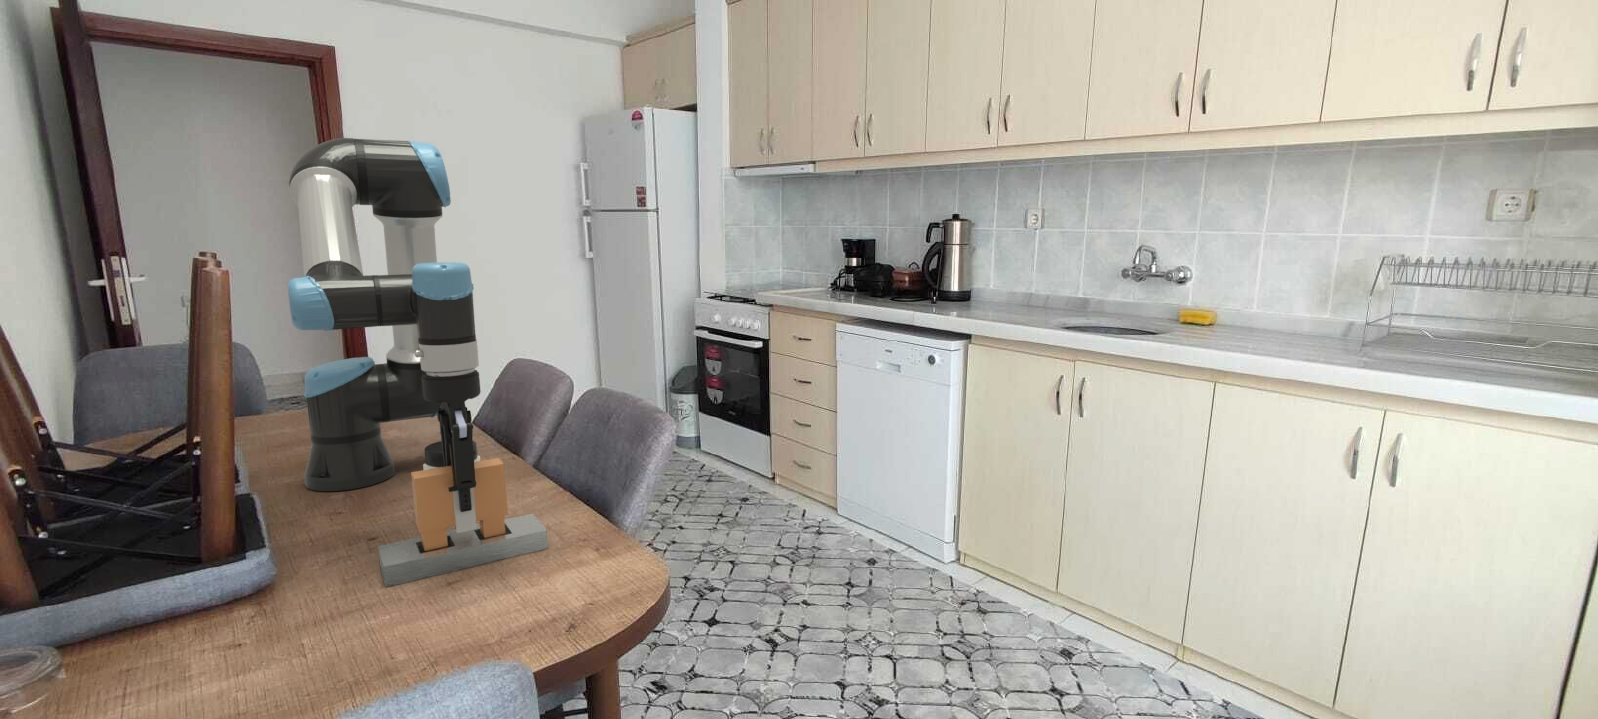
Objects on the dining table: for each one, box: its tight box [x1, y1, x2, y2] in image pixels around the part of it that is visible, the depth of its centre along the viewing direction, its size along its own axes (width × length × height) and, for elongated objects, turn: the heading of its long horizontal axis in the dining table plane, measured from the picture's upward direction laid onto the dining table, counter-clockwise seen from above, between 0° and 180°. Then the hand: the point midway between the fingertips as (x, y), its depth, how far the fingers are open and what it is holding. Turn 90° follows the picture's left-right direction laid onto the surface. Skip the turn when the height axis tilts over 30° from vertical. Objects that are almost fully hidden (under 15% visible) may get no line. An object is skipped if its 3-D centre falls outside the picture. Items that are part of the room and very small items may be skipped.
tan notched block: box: [410, 457, 509, 551], centre depth 109 cm, size 4×12×11 cm, turn 124°
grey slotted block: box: [377, 513, 549, 588], centre depth 110 cm, size 8×22×3 cm, turn 124°
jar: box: [422, 440, 481, 470], centre depth 127 cm, size 9×8×12 cm
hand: (463, 525), depth 109 cm, fingers closed on tan notched block, 3 cm apart
